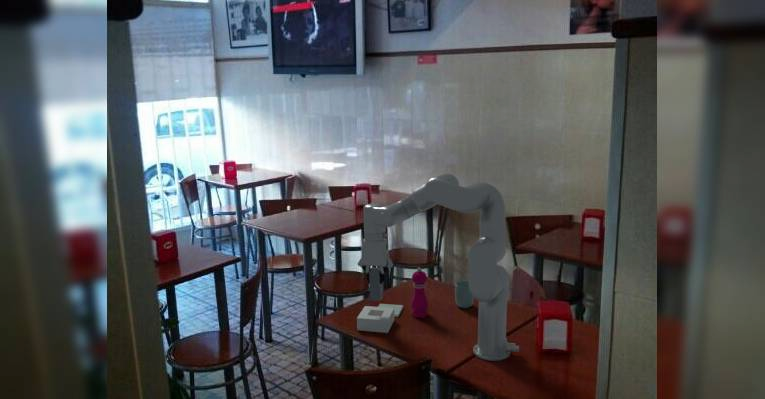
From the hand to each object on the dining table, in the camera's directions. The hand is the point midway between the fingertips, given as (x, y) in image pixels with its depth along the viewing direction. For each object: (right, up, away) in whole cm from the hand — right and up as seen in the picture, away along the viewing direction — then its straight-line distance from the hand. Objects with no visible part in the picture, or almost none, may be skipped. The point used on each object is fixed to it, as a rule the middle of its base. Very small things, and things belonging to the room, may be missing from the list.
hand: (375, 281), depth 222 cm
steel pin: (0, -7, +1) cm, 7 cm away
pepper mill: (+18, -15, +13) cm, 27 cm away
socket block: (0, -17, +4) cm, 18 cm away
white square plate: (+5, -15, +17) cm, 23 cm away
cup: (+37, -13, +21) cm, 44 cm away
